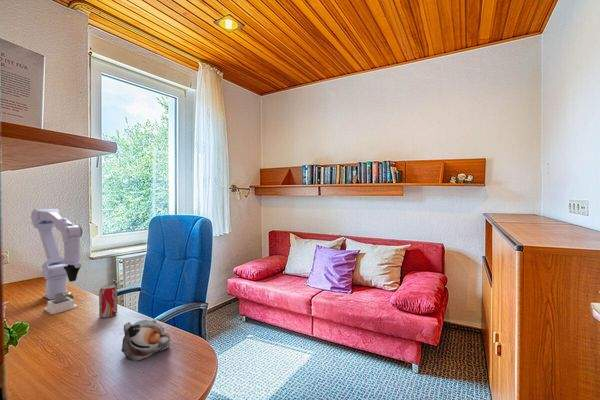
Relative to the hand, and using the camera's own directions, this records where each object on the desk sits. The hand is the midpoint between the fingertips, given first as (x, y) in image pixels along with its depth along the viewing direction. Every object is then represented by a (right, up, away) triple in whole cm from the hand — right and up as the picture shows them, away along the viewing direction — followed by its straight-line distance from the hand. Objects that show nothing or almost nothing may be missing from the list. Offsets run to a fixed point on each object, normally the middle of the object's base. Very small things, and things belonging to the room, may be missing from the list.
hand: (72, 281), depth 140 cm
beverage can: (+27, -10, -16) cm, 33 cm away
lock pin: (-1, -9, -2) cm, 9 cm away
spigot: (+1, -9, -9) cm, 12 cm away
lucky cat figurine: (+57, -11, -45) cm, 74 cm away
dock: (+1, -10, -7) cm, 12 cm away
